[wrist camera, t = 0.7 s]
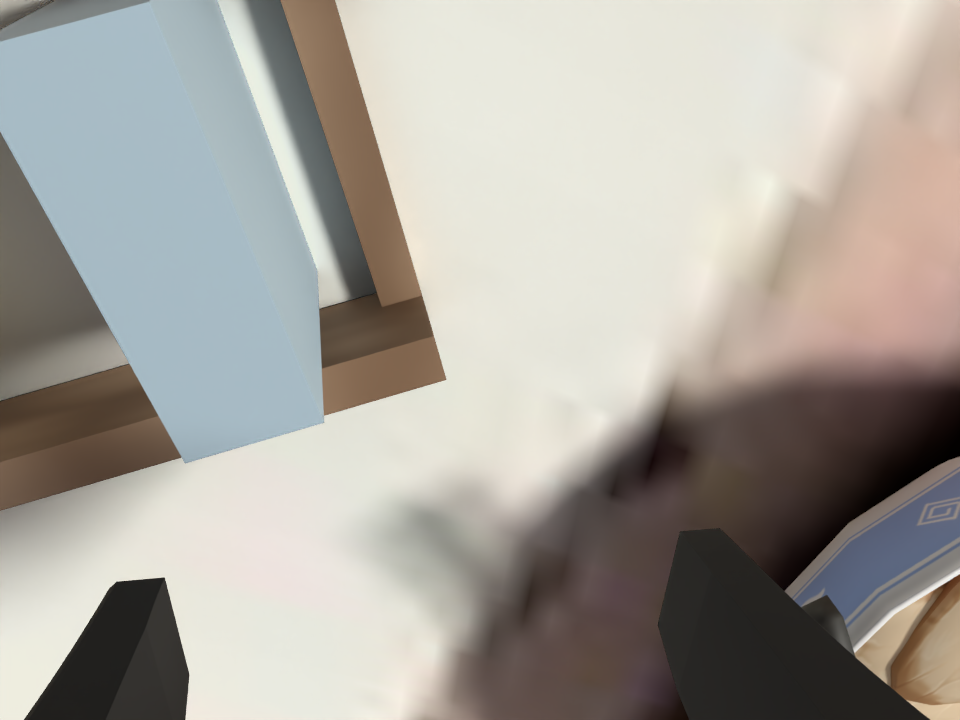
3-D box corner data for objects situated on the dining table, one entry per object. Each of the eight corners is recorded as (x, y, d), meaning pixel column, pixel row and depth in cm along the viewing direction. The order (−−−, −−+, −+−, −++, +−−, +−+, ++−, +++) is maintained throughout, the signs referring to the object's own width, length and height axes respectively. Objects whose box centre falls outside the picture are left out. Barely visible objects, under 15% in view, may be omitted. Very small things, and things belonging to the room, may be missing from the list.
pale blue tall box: (216, 298, 19) (184, 463, 14) (74, -11, 16) (-43, 52, 10) (317, 269, 19) (324, 422, 14) (200, -45, 16) (149, 1, 10)
